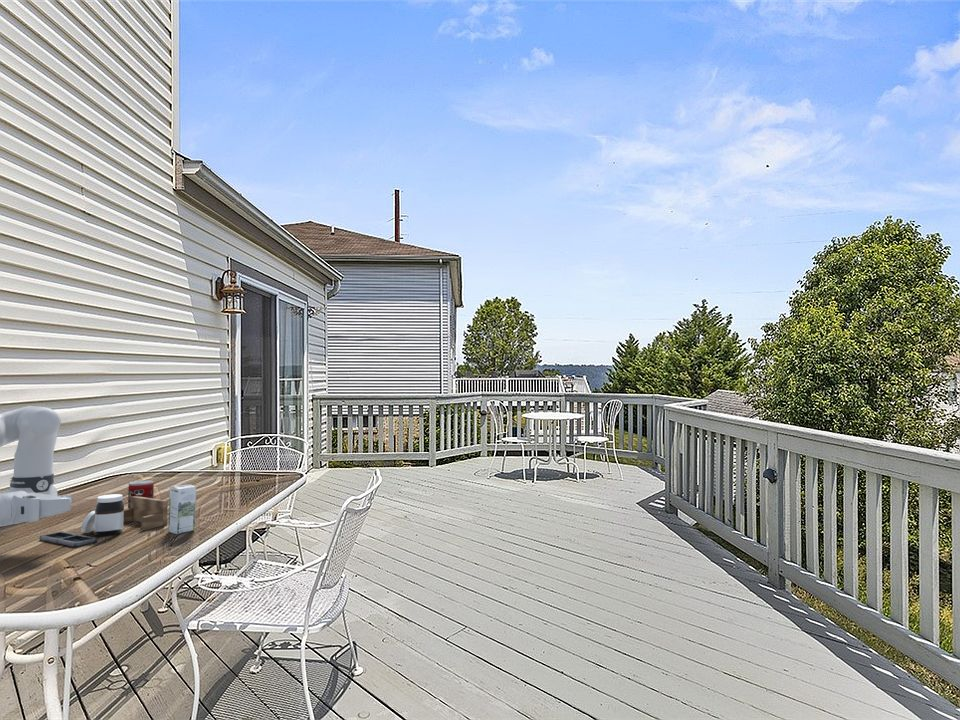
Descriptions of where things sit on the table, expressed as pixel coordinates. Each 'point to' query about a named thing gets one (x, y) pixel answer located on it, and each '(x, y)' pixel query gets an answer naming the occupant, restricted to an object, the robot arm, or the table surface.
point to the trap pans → (68, 539)
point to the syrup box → (182, 509)
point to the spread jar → (105, 516)
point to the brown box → (147, 512)
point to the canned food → (140, 489)
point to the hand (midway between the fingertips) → (69, 497)
